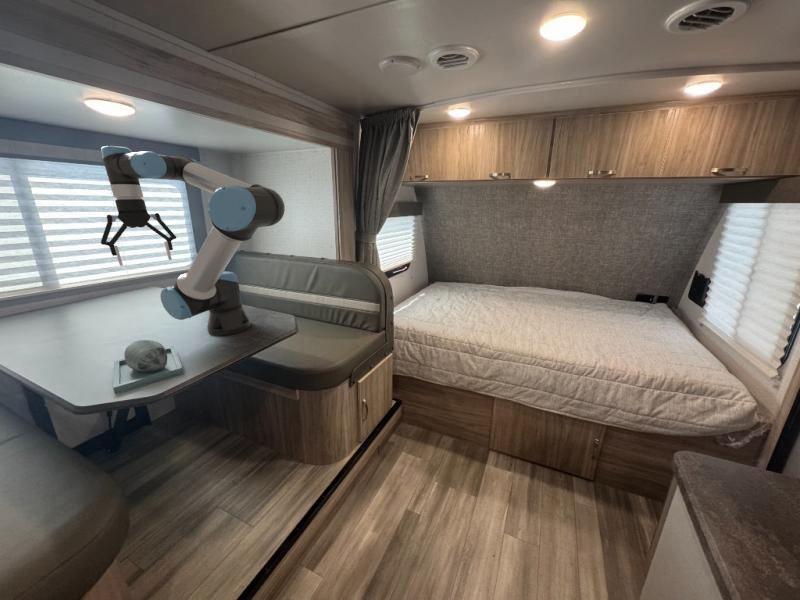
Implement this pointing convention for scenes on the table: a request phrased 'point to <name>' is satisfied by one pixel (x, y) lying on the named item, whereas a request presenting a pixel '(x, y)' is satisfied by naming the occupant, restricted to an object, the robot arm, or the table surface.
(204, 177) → the robot arm
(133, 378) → the tray
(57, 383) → the table surface
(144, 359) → the streaked grey egg
